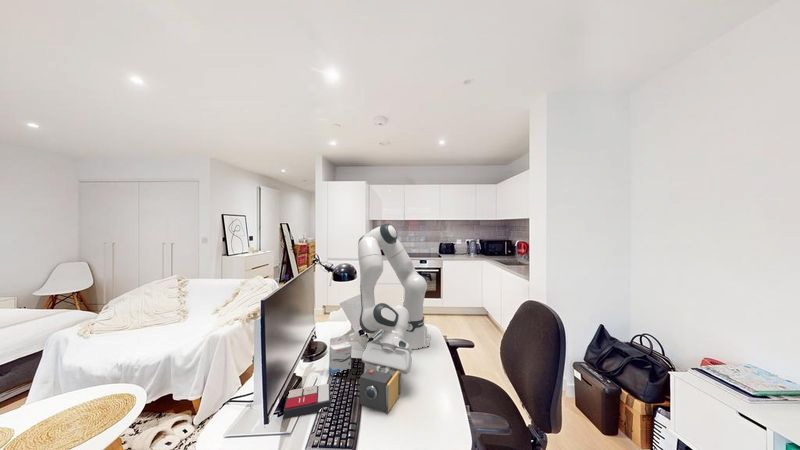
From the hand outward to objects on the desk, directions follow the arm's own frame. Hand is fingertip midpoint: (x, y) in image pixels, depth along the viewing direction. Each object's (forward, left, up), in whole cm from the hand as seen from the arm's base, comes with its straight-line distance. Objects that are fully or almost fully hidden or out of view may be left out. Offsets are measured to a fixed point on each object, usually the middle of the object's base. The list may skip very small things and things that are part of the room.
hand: (380, 380), depth 101 cm
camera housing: (+5, +1, -6) cm, 8 cm away
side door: (+3, +7, -5) cm, 9 cm away
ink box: (-8, -23, -6) cm, 26 cm away
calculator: (+14, -21, -6) cm, 27 cm away
